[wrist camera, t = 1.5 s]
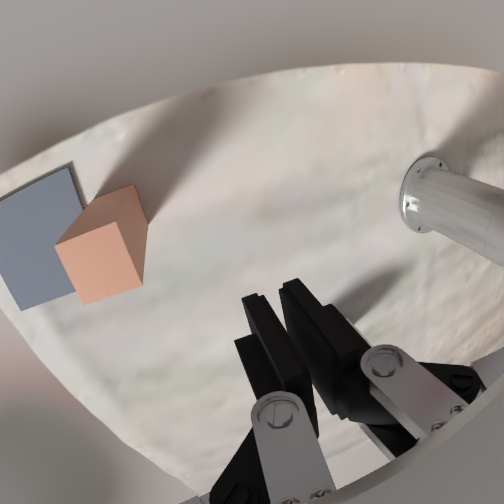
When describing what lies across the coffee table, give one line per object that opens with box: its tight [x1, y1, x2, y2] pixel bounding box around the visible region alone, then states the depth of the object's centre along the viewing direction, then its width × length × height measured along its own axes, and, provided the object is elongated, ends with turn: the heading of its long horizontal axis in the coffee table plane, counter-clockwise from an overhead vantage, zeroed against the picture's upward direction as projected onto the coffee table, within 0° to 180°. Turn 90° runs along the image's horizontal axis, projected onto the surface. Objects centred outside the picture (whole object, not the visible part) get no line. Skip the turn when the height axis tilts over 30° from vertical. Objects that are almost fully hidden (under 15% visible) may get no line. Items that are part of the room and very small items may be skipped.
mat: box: [0, 167, 84, 311], centre depth 29 cm, size 15×14×1 cm
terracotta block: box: [54, 184, 148, 305], centre depth 25 cm, size 5×5×14 cm
